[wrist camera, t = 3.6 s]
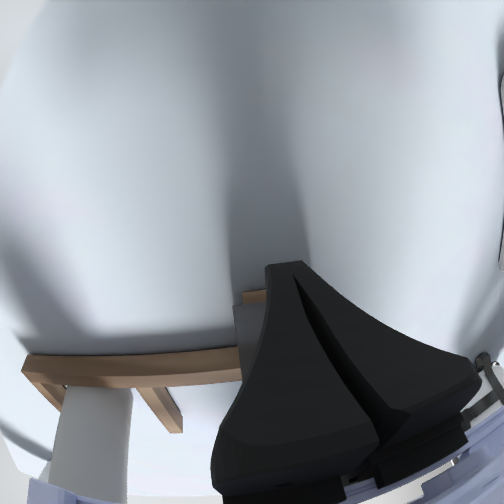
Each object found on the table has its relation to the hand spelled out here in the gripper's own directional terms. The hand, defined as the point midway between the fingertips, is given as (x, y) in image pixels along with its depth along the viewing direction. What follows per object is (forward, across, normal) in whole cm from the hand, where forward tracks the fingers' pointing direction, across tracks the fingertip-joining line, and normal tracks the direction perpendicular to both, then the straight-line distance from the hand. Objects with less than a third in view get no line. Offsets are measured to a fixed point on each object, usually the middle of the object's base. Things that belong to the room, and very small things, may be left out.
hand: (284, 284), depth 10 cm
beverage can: (+3, +12, +9) cm, 15 cm away
